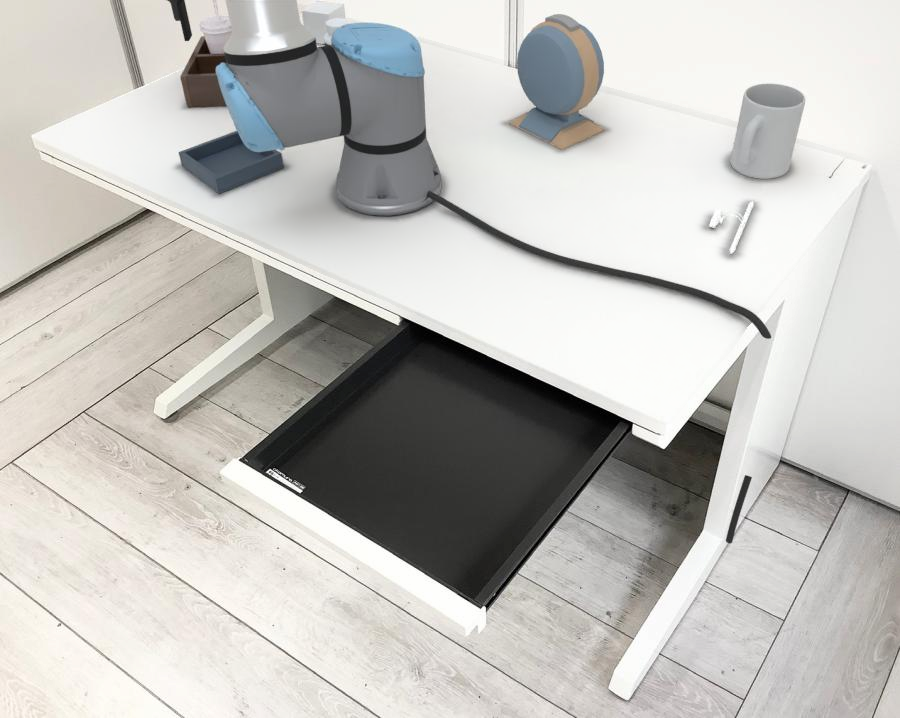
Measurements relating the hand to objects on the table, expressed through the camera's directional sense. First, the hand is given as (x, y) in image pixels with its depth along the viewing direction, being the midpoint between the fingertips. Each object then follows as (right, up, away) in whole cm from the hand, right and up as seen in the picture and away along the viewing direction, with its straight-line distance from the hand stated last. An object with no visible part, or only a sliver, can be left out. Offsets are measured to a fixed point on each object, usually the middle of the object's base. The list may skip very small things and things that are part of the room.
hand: (220, 37), depth 159 cm
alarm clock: (+58, -20, -15) cm, 63 cm away
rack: (0, -8, +1) cm, 8 cm away
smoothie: (0, -5, +5) cm, 7 cm away
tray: (+8, -28, -22) cm, 36 cm away
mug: (+86, -30, -27) cm, 95 cm away
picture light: (+79, -40, -38) cm, 96 cm away
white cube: (+17, +6, +17) cm, 24 cm away
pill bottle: (+21, -5, +5) cm, 22 cm away
